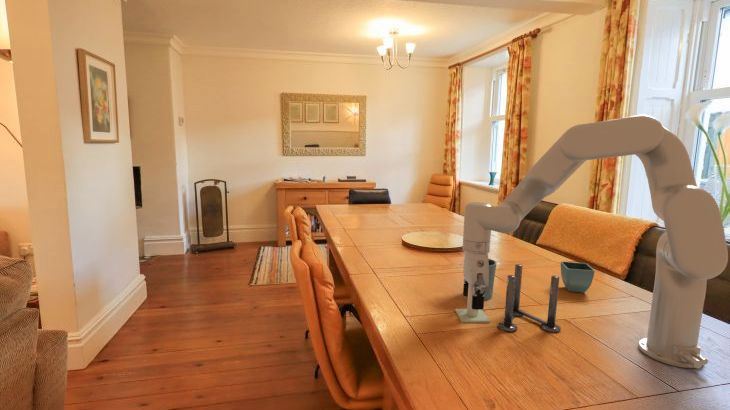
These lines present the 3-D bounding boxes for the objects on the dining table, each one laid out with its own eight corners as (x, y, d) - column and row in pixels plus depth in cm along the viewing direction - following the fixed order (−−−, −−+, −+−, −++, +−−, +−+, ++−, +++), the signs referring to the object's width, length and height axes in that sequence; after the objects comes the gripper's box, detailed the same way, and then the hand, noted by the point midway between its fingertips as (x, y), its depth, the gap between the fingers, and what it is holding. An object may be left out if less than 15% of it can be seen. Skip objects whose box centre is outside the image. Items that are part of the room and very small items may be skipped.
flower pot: (593, 295, 132) (595, 270, 131) (565, 293, 134) (567, 268, 132) (584, 286, 140) (586, 263, 139) (557, 284, 142) (560, 261, 141)
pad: (489, 322, 110) (489, 320, 110) (461, 322, 110) (461, 320, 110) (481, 310, 118) (481, 309, 118) (455, 310, 118) (455, 308, 118)
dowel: (479, 316, 112) (481, 283, 111) (468, 316, 112) (470, 283, 111) (476, 312, 116) (478, 280, 114) (465, 312, 116) (467, 280, 114)
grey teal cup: (473, 302, 125) (475, 266, 123) (457, 290, 134) (459, 257, 133) (500, 299, 127) (503, 264, 126) (483, 288, 137) (485, 255, 135)
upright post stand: (564, 332, 105) (569, 280, 103) (501, 332, 105) (505, 279, 102) (539, 309, 120) (543, 263, 117) (484, 309, 120) (487, 262, 117)
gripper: (499, 254, 102) (495, 315, 105) (480, 238, 119) (477, 291, 122) (471, 253, 102) (467, 314, 105) (456, 238, 119) (453, 291, 122)
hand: (472, 302), depth 113 cm, fingers open, 9 cm apart
